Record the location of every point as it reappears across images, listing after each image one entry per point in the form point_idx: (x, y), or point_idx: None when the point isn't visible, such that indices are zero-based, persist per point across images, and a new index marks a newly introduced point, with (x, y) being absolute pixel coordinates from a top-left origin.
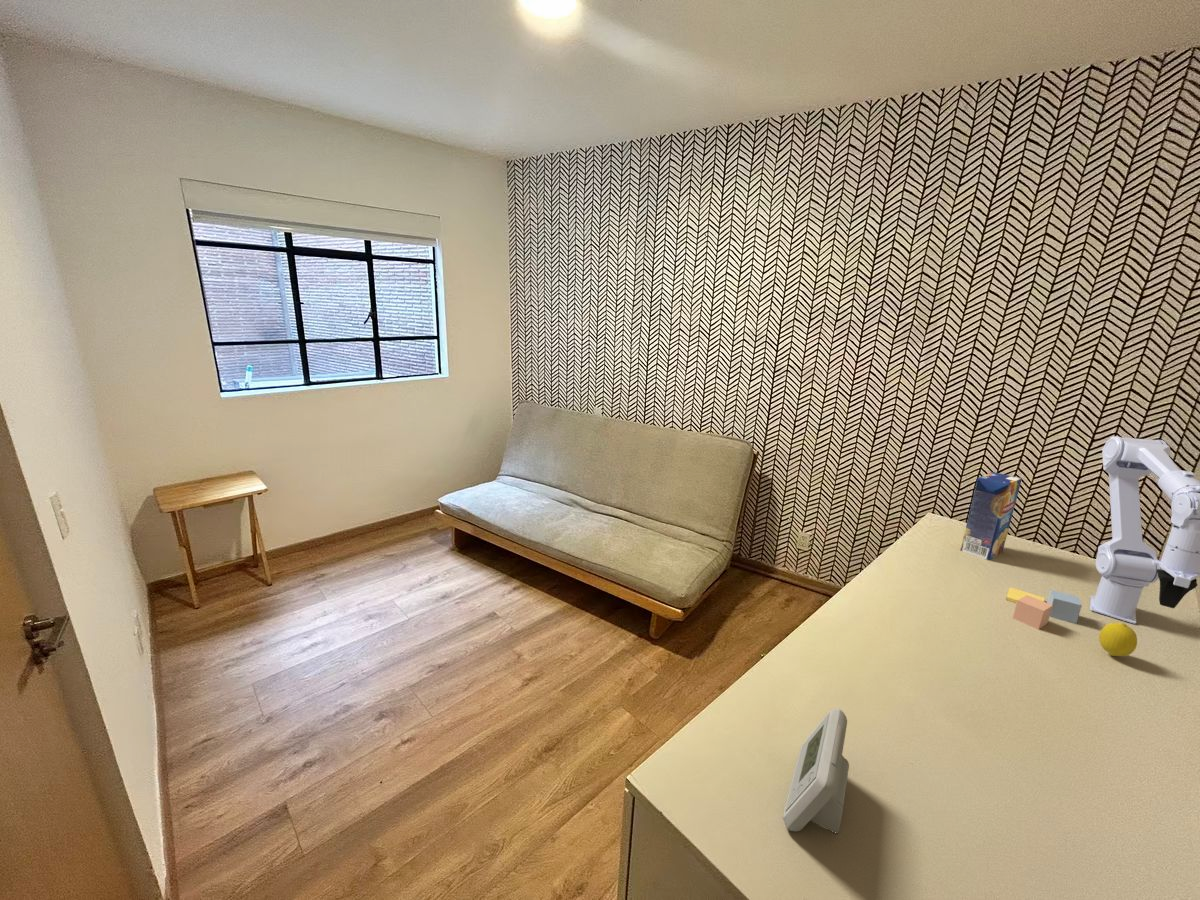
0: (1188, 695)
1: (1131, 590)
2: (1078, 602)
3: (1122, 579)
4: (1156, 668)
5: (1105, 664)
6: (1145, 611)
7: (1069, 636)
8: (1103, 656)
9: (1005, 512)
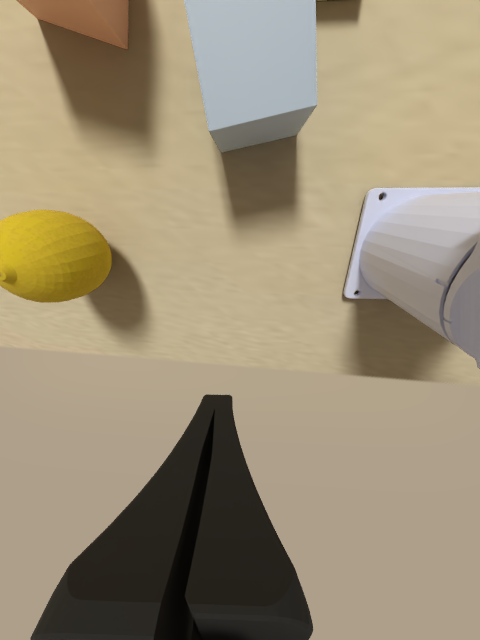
0: (73, 350)
1: (425, 310)
2: (231, 113)
3: None
4: (130, 318)
5: None
6: None
7: (98, 138)
8: None
9: None
